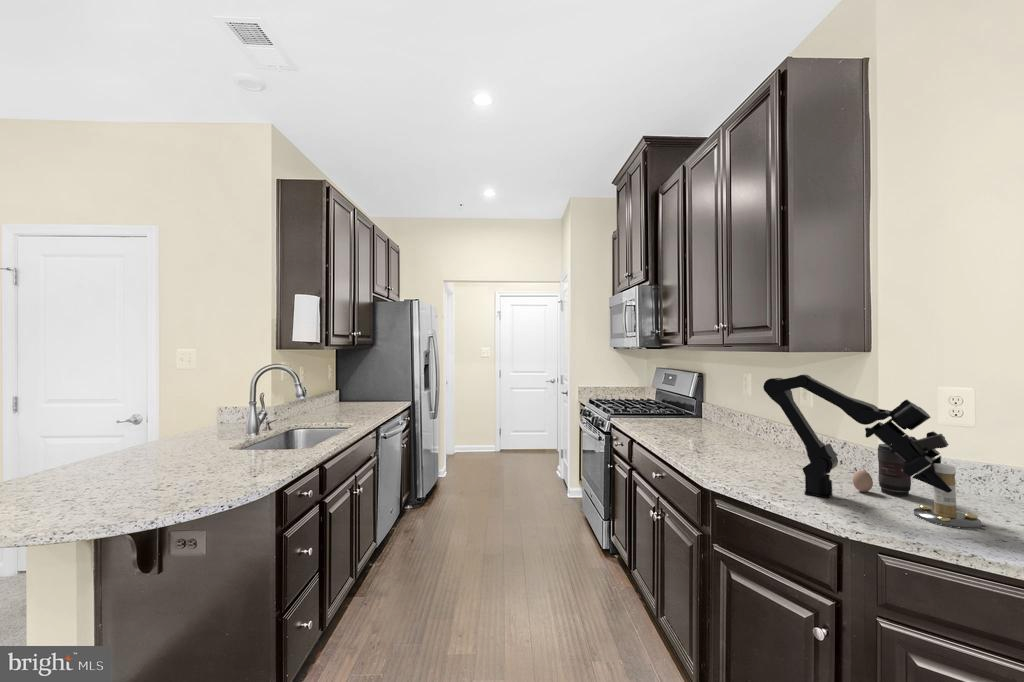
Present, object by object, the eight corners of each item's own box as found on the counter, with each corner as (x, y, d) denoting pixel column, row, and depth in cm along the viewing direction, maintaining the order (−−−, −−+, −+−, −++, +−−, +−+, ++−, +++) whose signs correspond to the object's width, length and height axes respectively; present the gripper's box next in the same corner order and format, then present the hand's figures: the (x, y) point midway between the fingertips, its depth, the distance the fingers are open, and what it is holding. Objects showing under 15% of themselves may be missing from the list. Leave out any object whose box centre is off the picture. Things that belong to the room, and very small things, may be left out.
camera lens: (918, 498, 139) (917, 448, 139) (888, 496, 140) (887, 447, 141) (901, 490, 147) (900, 443, 147) (873, 488, 148) (871, 442, 149)
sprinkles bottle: (955, 514, 122) (953, 464, 122) (959, 519, 118) (957, 467, 118) (932, 511, 124) (930, 462, 125) (935, 516, 120) (933, 465, 121)
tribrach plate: (915, 521, 120) (915, 514, 120) (912, 507, 130) (912, 501, 130) (985, 533, 112) (985, 525, 112) (976, 518, 122) (976, 511, 122)
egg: (864, 489, 148) (863, 468, 148) (877, 494, 143) (876, 472, 143) (848, 489, 148) (848, 468, 148) (861, 494, 143) (860, 472, 143)
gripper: (918, 426, 118) (980, 477, 110) (928, 419, 131) (985, 464, 122) (880, 451, 124) (936, 502, 115) (894, 442, 136) (945, 487, 128)
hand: (952, 488), depth 120 cm, fingers open, 9 cm apart
